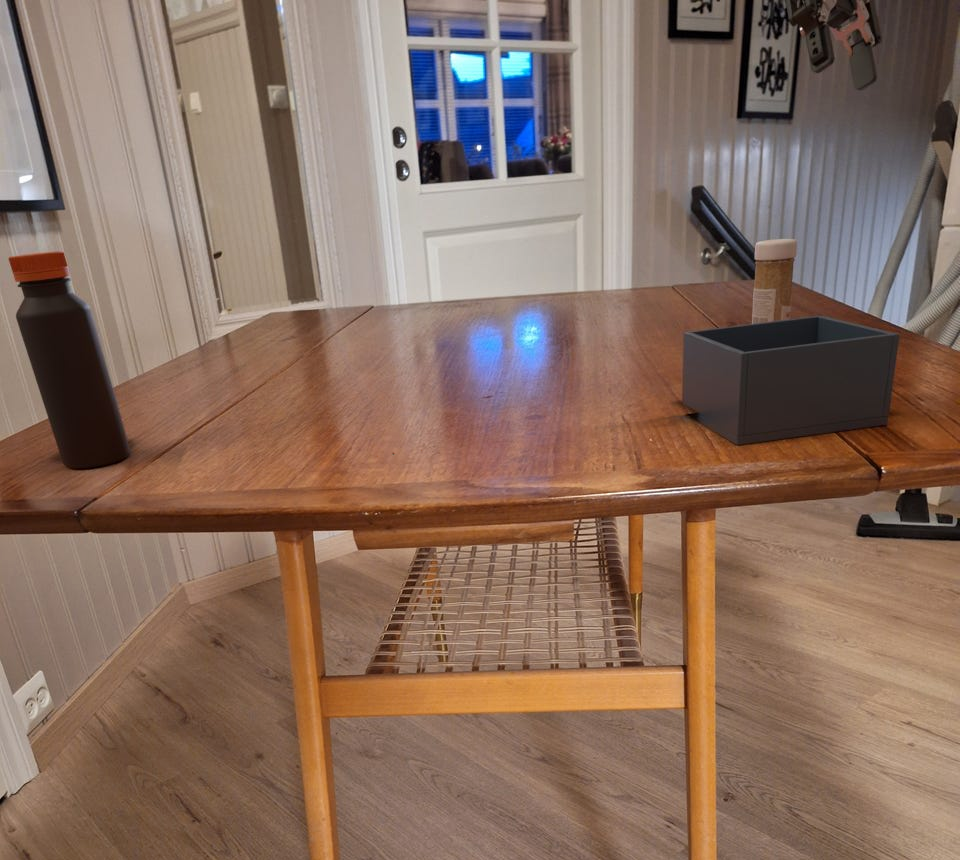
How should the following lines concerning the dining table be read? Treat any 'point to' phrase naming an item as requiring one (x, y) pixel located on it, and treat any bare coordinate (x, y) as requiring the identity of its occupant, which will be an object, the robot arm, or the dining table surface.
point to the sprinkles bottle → (773, 280)
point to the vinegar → (68, 363)
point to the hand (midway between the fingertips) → (845, 77)
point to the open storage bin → (788, 378)
